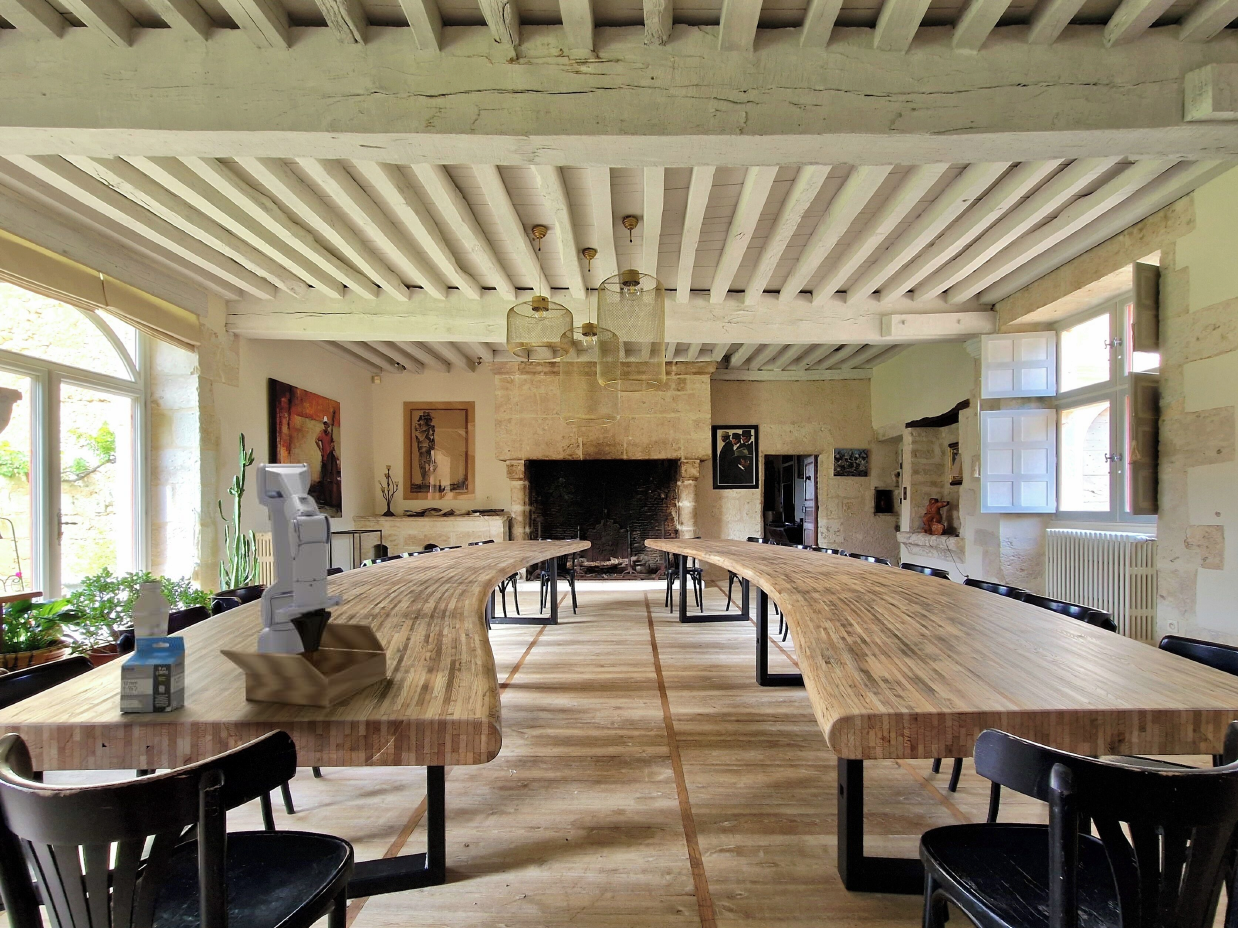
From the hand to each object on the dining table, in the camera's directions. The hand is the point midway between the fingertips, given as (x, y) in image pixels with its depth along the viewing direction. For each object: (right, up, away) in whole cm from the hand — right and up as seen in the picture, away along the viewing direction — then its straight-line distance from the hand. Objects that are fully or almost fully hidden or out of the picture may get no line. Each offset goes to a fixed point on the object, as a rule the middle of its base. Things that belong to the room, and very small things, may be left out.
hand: (311, 651), depth 113 cm
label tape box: (-25, -8, -7) cm, 27 cm away
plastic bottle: (-38, -9, +9) cm, 40 cm away
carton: (+1, -8, +2) cm, 8 cm away
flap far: (+2, +1, +7) cm, 7 cm away
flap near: (-2, +1, -8) cm, 9 cm away
